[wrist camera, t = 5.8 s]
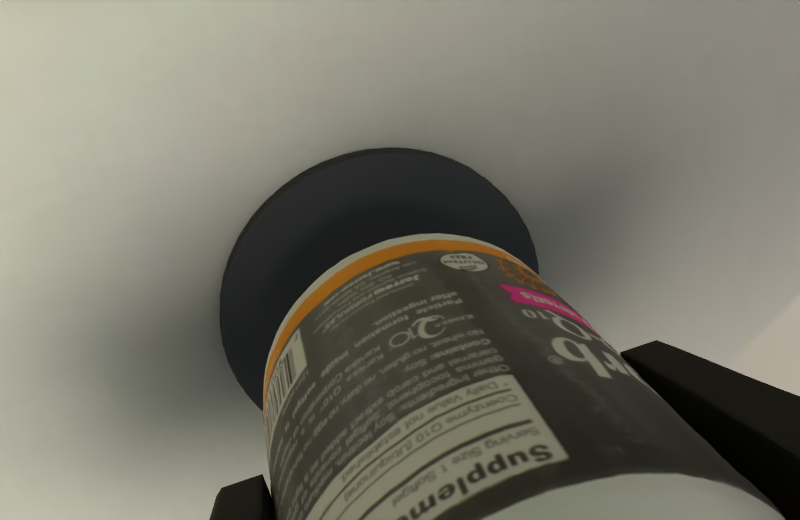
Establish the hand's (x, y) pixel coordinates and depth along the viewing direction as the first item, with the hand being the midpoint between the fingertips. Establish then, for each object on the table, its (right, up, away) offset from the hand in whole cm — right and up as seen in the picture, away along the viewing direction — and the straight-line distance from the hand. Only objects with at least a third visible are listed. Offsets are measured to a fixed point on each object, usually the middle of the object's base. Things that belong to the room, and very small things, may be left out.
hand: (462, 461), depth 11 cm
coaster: (-1, +2, +5) cm, 6 cm away
